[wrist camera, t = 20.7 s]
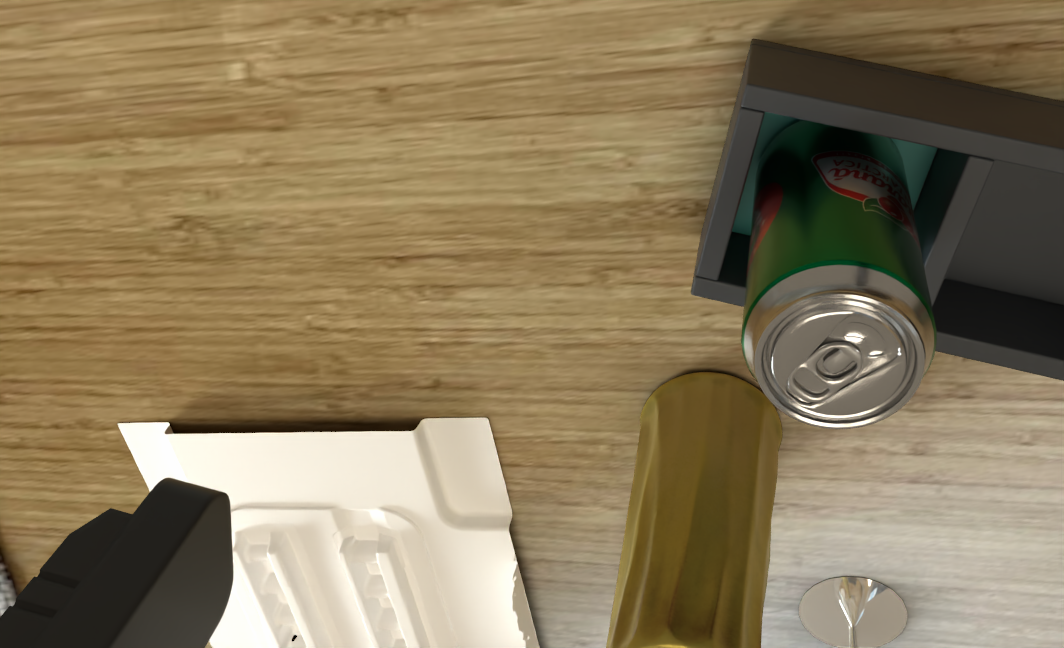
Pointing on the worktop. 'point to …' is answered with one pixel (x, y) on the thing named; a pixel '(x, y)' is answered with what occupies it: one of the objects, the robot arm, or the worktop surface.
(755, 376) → the soda can
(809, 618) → the wineglass
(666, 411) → the vase
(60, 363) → the worktop surface
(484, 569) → the tray
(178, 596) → the robot arm
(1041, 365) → the holder
